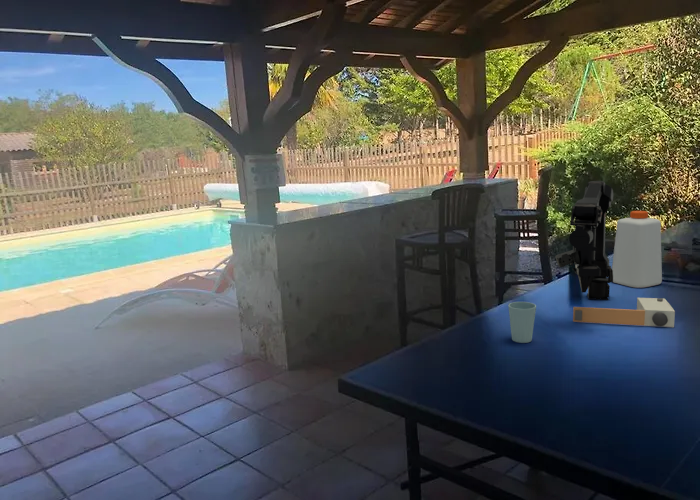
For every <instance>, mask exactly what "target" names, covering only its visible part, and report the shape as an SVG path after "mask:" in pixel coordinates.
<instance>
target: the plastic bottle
mask: <svg viewBox="0 0 700 500" xmlns="http://www.w3.org/2000/svg"><path fill="white" fill-rule="evenodd" d="M629 214H630V215H629V217H625V218H620V219H618V220H617V221H616V222H617V223H616V230H615V237H614V238H615V239H614V249H613V256H612V265H611V269H612V270H613V282H612V283H615V284H617V285H622V286H626V287H630V288H634V289H635V288H637V289H643V288H645V289H646V288H648V287H653V286H658V285H660V284H661V283H662V282H663V275H662V274H663V272H662V269H663V268H662V267H663V265H662V263H663V262H662V229H661V227H662V225H661V224H662V222H661V221H660V219H658V218H652V217H649V212H648V211H647V210H632V211H630V213H629Z"/></svg>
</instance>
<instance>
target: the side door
mask: <svg viewBox="0 0 700 500" xmlns="http://www.w3.org/2000/svg"><path fill="white" fill-rule="evenodd" d="M572 312H573V314H572V322H575V323H576V322H577V323H589V324H590V323H591V324H608V325H609V324H610V325H627V326H628V325H629V326H643V327H644V320H645V310H637V309H627V308H626V309H624V308H606V307H587V306H586V307H585V306H584V307H583V306H573V310H572Z"/></svg>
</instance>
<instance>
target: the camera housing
mask: <svg viewBox="0 0 700 500" xmlns="http://www.w3.org/2000/svg"><path fill="white" fill-rule="evenodd" d="M636 299H637V300H636V301H637V302H636V310H645V320H644V326H645V327H659V328H661V327H662V328H674V327H675V316H676V311H675V310H674V308H673V307H672V305H671V304H670V303H669V302H668V301H667V300H666V298H661V297H660V298H659V297H658V298H657V297H655V298H653V297H636ZM644 326H643V327H644Z"/></svg>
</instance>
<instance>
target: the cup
mask: <svg viewBox="0 0 700 500" xmlns="http://www.w3.org/2000/svg"><path fill="white" fill-rule="evenodd" d="M536 312H537V305H536V303H533V302H529V301H514V302H513V301H512V302H510V303H509V304H508V313H509V315H508V316H509V323H510V324H509V325H510V335H511V340H512V341H513V342H515V343H520V344H525V343H527V344H528V343H530V342H532V340H533V335H534V334H533V333H534V325H535V317H536Z"/></svg>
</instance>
